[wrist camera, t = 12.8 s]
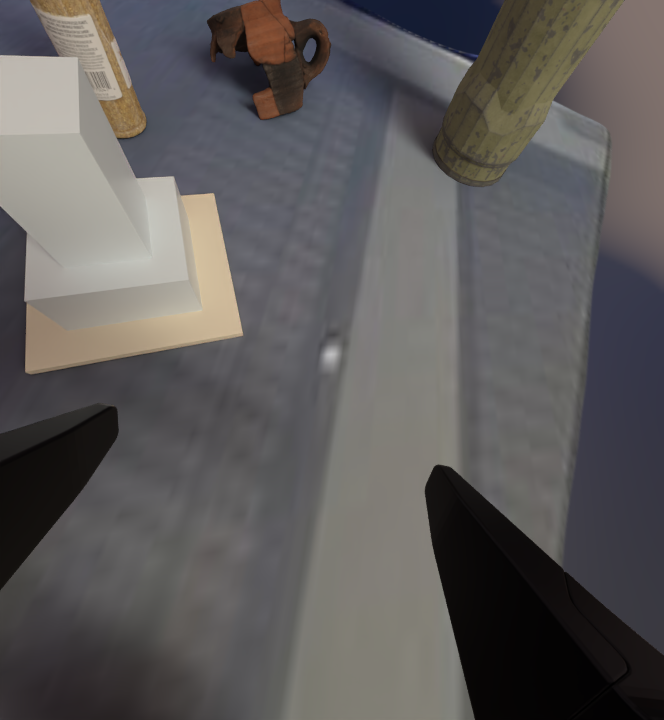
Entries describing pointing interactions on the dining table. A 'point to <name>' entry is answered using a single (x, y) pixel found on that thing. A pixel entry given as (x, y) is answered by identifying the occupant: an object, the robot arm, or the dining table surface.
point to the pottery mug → (272, 51)
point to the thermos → (515, 84)
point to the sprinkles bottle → (94, 58)
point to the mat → (113, 341)
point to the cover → (87, 205)
